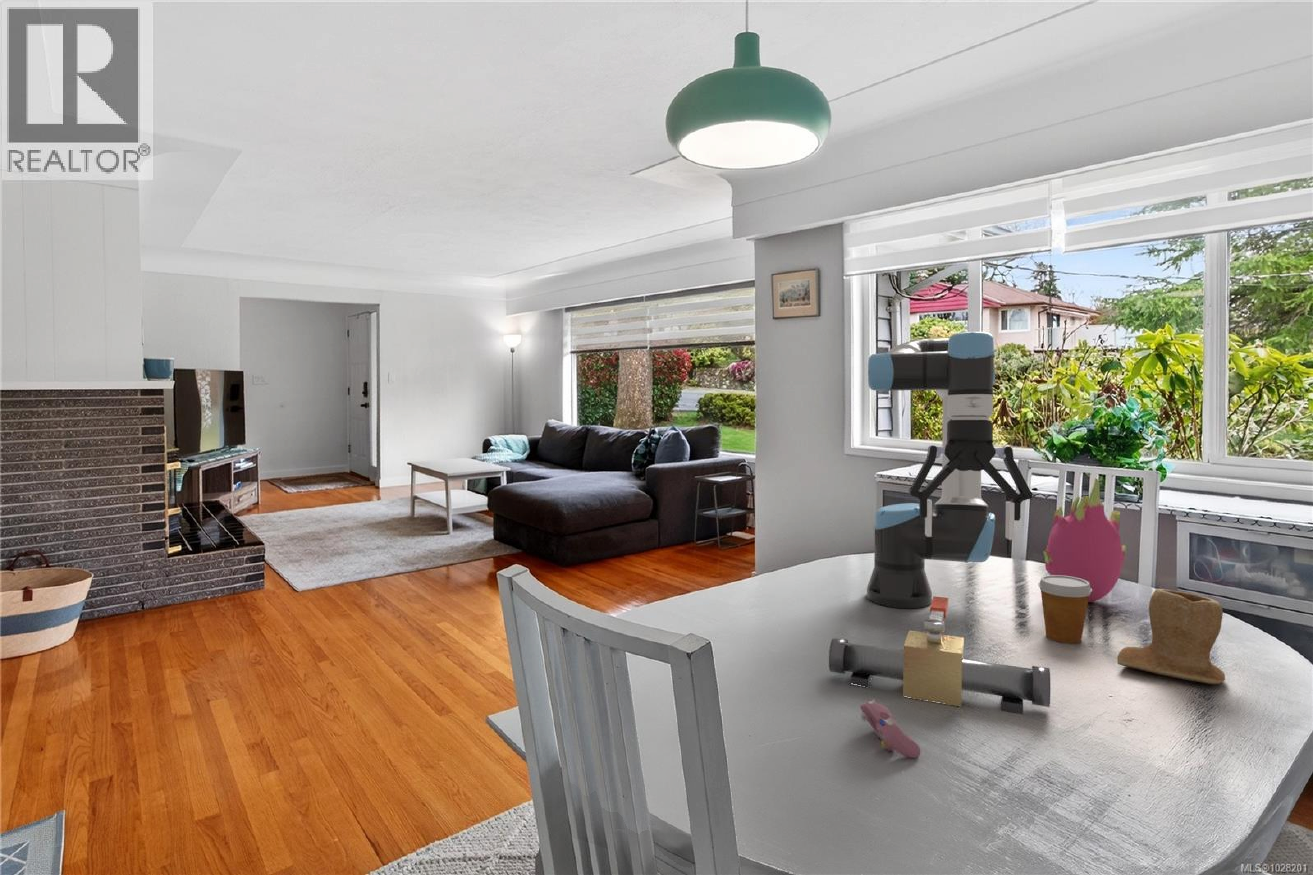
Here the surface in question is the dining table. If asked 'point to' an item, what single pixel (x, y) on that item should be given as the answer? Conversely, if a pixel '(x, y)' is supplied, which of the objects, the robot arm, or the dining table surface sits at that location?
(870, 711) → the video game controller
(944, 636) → the valve pipe
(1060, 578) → the disposable coffee cup
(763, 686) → the dining table surface
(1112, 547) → the pink dragon fruit
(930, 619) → the lever
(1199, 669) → the tan flared piece
